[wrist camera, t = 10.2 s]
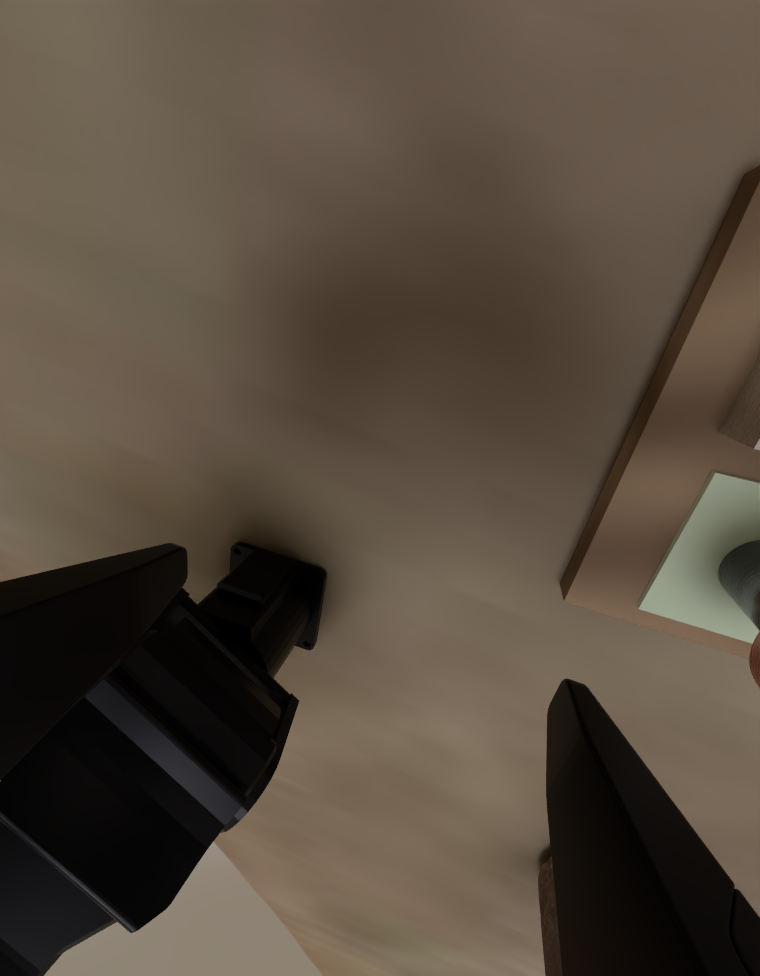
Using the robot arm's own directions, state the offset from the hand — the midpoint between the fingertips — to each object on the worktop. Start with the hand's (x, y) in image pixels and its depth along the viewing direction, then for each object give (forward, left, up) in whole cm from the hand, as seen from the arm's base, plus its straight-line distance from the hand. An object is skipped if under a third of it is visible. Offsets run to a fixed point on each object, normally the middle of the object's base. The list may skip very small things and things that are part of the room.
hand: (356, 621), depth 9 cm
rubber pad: (-1, -14, -12) cm, 19 cm away
